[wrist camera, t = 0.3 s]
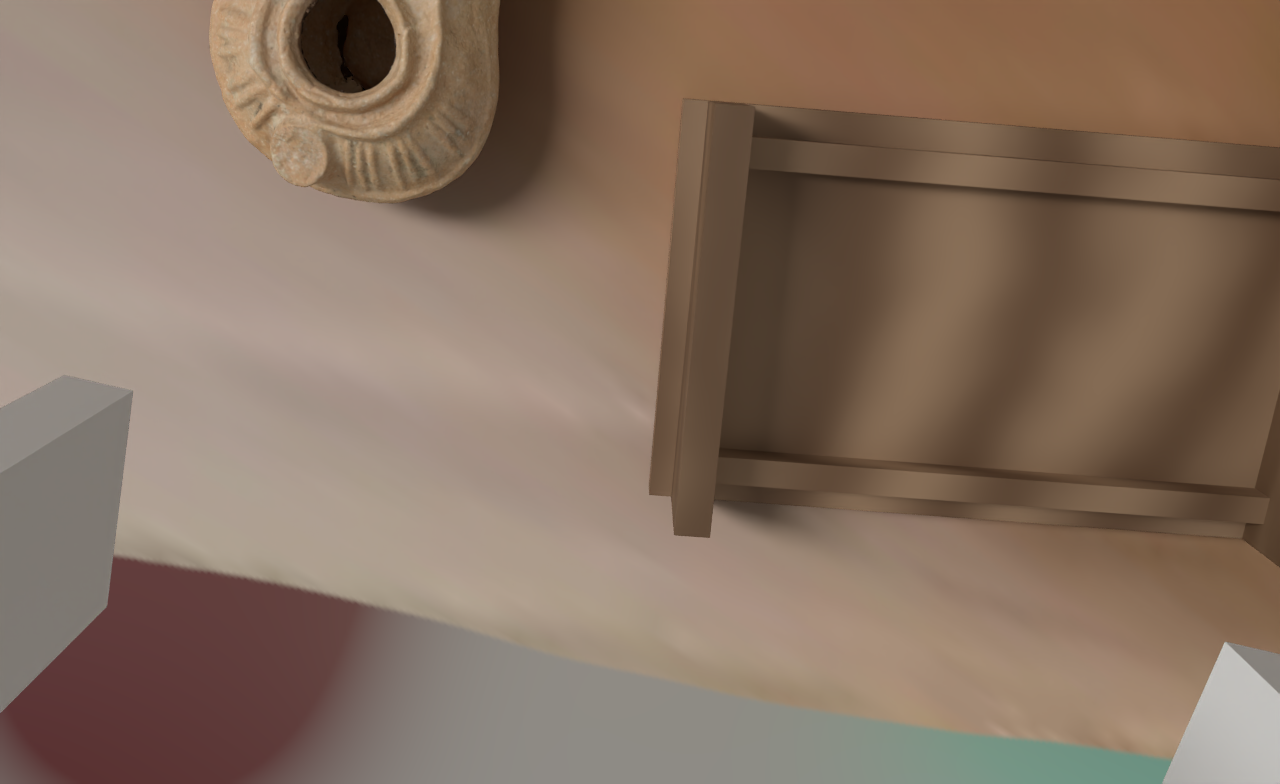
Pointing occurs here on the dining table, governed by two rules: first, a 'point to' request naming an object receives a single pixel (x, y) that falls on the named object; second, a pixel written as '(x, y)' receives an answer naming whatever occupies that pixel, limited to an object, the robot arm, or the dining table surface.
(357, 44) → the pottery oil lamp
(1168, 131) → the dining table surface
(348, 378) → the dining table surface
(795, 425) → the cradle rack
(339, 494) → the dining table surface
